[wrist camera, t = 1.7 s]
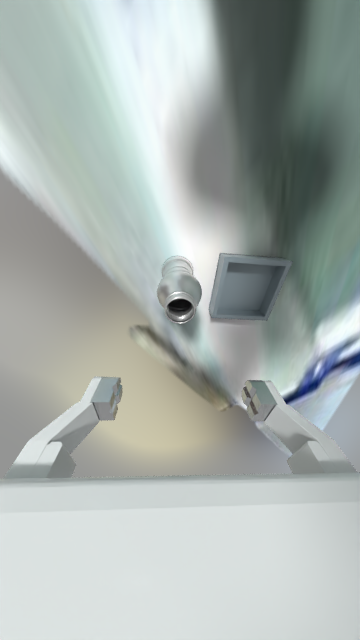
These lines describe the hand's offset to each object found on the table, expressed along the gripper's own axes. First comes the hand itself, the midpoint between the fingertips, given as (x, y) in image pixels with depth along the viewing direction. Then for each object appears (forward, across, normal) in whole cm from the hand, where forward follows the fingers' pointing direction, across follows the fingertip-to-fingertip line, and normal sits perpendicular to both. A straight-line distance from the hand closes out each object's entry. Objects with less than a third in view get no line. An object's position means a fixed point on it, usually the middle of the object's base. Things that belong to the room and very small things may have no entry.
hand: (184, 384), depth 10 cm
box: (+30, -16, +3) cm, 34 cm away
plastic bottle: (+30, 0, 0) cm, 30 cm away
